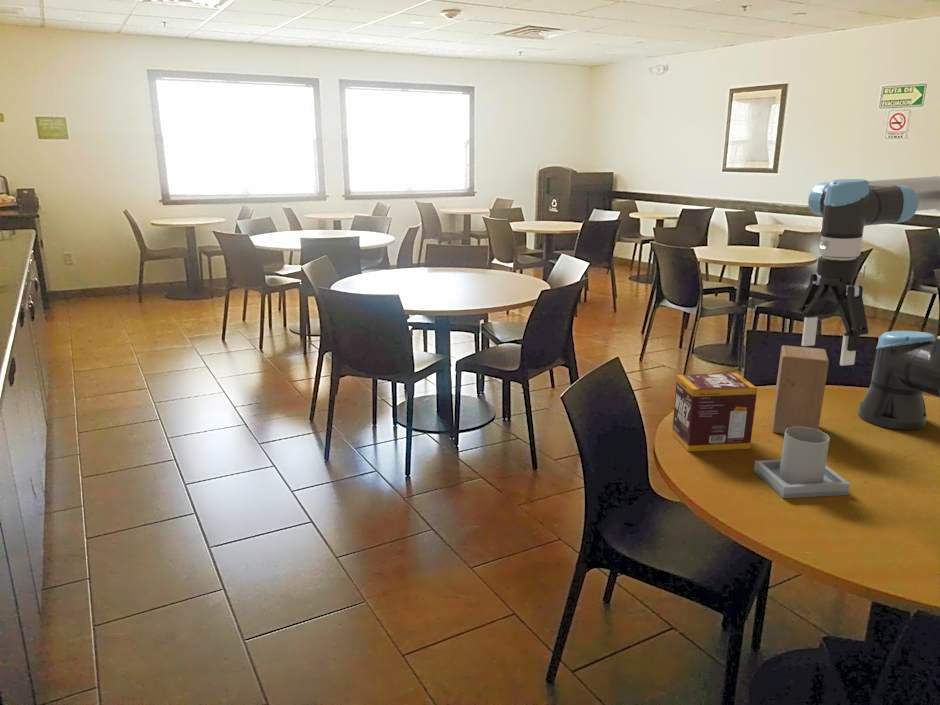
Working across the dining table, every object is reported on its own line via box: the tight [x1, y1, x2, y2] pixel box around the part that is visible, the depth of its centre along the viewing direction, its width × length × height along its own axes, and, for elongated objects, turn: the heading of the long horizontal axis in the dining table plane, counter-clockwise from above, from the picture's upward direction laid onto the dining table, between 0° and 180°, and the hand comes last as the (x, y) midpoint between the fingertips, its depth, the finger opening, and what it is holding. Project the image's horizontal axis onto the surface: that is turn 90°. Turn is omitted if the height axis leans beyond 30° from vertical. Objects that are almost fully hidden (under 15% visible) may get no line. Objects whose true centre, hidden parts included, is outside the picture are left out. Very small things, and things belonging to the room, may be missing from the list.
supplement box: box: [671, 372, 758, 452], centre depth 163 cm, size 10×15×16 cm
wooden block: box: [771, 345, 830, 435], centre depth 169 cm, size 10×10×20 cm
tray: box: [753, 458, 851, 499], centre depth 145 cm, size 14×12×2 cm
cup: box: [779, 427, 831, 484], centre depth 144 cm, size 8×8×10 cm
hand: (826, 354), depth 148 cm, fingers open, 13 cm apart
